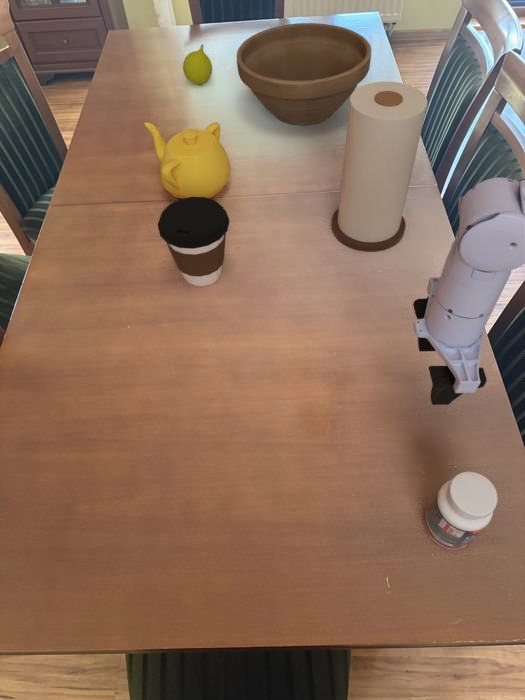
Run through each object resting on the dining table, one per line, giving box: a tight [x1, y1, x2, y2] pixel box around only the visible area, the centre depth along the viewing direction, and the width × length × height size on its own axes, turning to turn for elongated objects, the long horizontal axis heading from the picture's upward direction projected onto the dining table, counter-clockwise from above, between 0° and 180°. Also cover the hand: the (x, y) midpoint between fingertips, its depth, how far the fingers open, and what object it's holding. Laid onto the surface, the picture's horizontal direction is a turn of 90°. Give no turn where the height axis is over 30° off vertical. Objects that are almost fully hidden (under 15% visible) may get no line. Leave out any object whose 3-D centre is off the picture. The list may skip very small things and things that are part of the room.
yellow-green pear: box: [182, 43, 213, 85], centre depth 124 cm, size 7×7×10 cm
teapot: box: [144, 121, 232, 199], centre depth 96 cm, size 14×14×12 cm
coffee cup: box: [157, 197, 230, 288], centre depth 81 cm, size 11×11×12 cm
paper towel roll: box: [331, 81, 428, 253], centre depth 83 cm, size 13×13×24 cm
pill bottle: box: [424, 471, 498, 550], centre depth 56 cm, size 6×6×10 cm
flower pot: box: [236, 22, 372, 126], centre depth 113 cm, size 28×28×13 cm
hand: (433, 374), depth 61 cm, fingers open, 7 cm apart
